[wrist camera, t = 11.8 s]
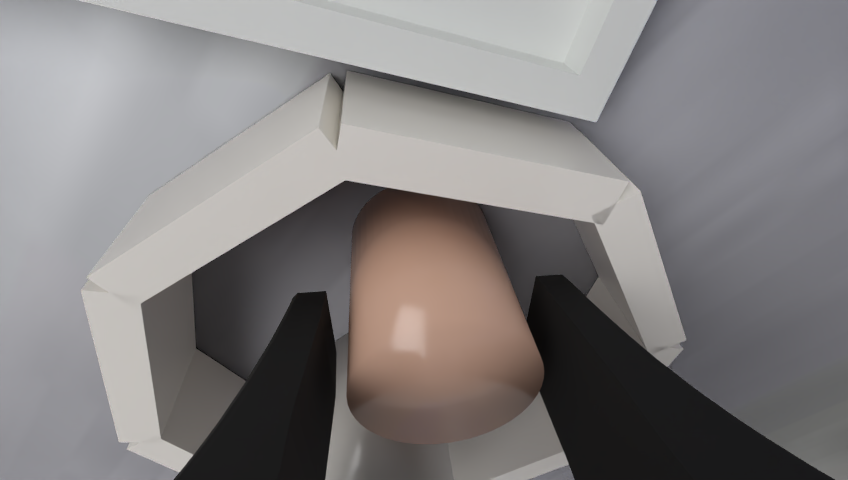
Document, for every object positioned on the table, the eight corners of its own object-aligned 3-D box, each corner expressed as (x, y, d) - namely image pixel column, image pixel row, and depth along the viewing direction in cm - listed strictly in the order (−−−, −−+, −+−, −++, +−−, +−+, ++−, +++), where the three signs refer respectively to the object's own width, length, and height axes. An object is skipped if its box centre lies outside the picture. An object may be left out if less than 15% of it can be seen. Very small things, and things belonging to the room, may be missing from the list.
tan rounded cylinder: (488, 171, 11) (556, 310, 7) (483, 279, 14) (533, 430, 10) (341, 186, 11) (329, 338, 7) (361, 294, 13) (361, 454, 9)
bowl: (711, 154, 12) (801, 215, 9) (517, 438, 19) (538, 512, 17) (121, 17, 8) (22, 58, 6) (171, 426, 16) (137, 515, 14)
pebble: (420, 313, 14) (443, 470, 10) (442, 381, 16) (468, 531, 12) (307, 340, 14) (286, 505, 10) (345, 404, 17) (339, 559, 13)
